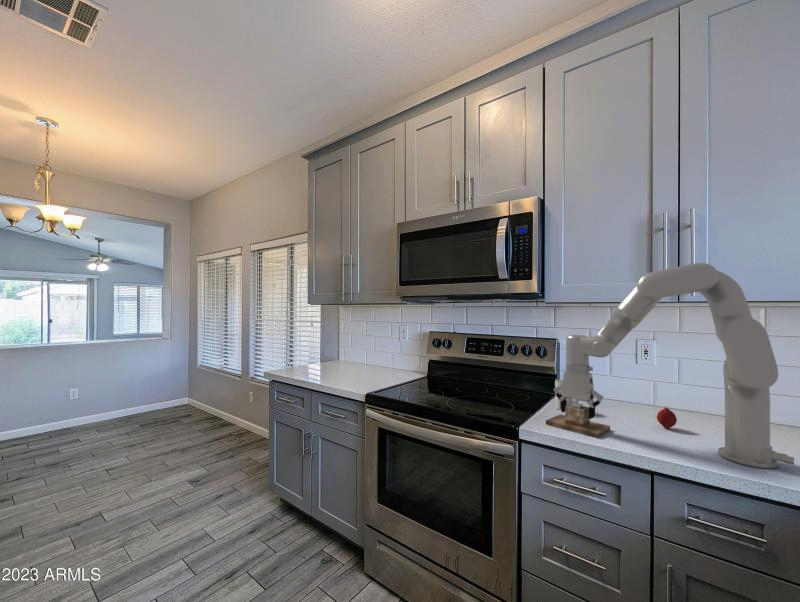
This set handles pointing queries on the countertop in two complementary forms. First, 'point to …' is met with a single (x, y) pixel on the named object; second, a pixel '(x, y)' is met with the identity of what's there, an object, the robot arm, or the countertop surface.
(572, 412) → the sleeve
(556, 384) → the mug
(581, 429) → the pin board
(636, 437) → the countertop surface
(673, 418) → the onion
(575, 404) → the steel pin
